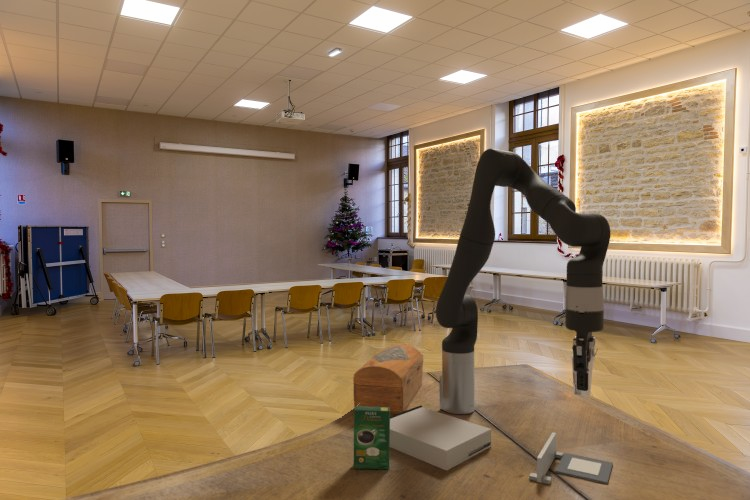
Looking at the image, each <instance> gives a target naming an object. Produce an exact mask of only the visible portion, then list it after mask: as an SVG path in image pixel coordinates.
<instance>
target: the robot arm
mask: <svg viewBox="0 0 750 500" xmlns="http://www.w3.org/2000/svg"><path fill="white" fill-rule="evenodd" d="M495 187H501V188H507V187H508V188H511V189H514V190H516V191H518V192H520V193H521V194H522V195H523V196H524V197H525V199H526V202H527V205H528V206H529V208H530V209H531V210H532V211H533V212H534V213H535V214H536V215H537V216H539V218H541V219H542V220H544V221H545V222H547V224H548V225H549V227H550V228H551V231H553V233H554V234H555V236H556V237H557V238H558V240H560V241H561V242H562V243H563V244H565V245H567V246H570V247H573V248H578V247H579V248H580V250H579V253H578V255H577V256H576V257H574V258H573V257H572V258H571V259H569V260H568V262H567V263H566V289H565V301H564V302H565V303H564V305H565V307H564V308H565V309H564V310H565V313H564V317H565V318H564V320H565V322H564V324H565V328H566V329H567V330H569V331H574V332H576V334H575V336H574V338H573V339H572V348H571V349H572V354H573V360H574V371H576V372H577V389H578V390H582V391H587V390H588V373H589V362H591V361H592V356H593V357H594V355H595V353H596V350H595V345H596V336H595V335H593V333H599V332H602V331H603V330H604V328H605V327H604V320H605V319H604V313H605V312H604V310H605V308H604V307H605V305H604V299H605V297H604V292H603V265H604V262H605V260H606V256H607V253H608V249H609V245H610V240H611V236H612V235H611V233H612V232H611V227H610V224H609V222H608V220H607V218H606V217H605V216H604V215H602V214H601V213H586V212H585V213H582V212H581V213H579V212H576V211H577V207H576V204H575V203H574V201H573V200H571V198H570V197H568V196H566V195H565V194H563V193H562V192H561V191H560V190H558V189H556V188H555V187H554V186H552V185H551V184H549V183H548V182H546V181H545V180H544V179H543V178H542V177H541V176H540V175H538V173H537V172H536V171H534V169H533V168H532V167H531V166H530V165H529V163H527V161H526V160H524V158H522V156H521V155H519V153H516V152H514V151H508V150H503V149H498V148H487V149H485V150H484V151H483V152H482V153H481V155H480V157H479V158H478V162H477V165H476V168H475V172H474V177H473V183H472V187H471V193H470V197H469V198H470V199H469V202H468V206H467V211H466V214H465V219H464V222H463V224H462V228H461V231H460V234H459V238H458V240H457V244H456V247H455V248H456V249H455V252H454V256H453V259H452V262H451V265H450V269H449V270H448V271H449V272H448V275H447V278H446V279H445V282H444V285H443V287H442V290H441V292H440V295H439V296H438V299H437V302H436V307H435V317H436V320H437V323H438V324H439V325H440V326H441V327H442V328H446V329H451V330H450V332H449V334H448V335H447V336H446V337H444V338H443V339H442V342H441V368H442V369H441V371H442V372H441V375H440V376H439V410H443V411H444V412H446V413H449V414H454V415H467V414H472V413H474V411H475V410H476V409H475V408H476V407H475V406H476V405H475V404H476V400H475V399H476V397H475V394H476V393H475V392H476V391H475V385H476V384H475V383H476V382H475V344H476V342H477V341H478V325H479V323H478V322H479V320H478V319H479V310H478V305H477V302H476V300H475V299H474V297H473V296H472V295H470V294H468V293H467V290H468V288H469V286H470V284H471V283H472V281H473V280H474V278H476V276H477V275H478V273H480V272H481V270H482V269H483V267H485V265H486V263H487V262H488V260H489V258H490V256H491V252H492V249H493V246H494V243H495V239H496V230H495V229H496V228H495V224H494V220H493V216H492V210H491V204H492V198H493V194H494V191H495ZM587 356H588V357H587ZM595 356H596V355H595ZM594 358H595V357H594ZM579 362H581V363H584V366H579ZM591 384H592V382H591Z"/></svg>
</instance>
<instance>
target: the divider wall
mask: <svg viewBox="0 0 750 500" xmlns="http://www.w3.org/2000/svg"><path fill="white" fill-rule="evenodd" d="M563 455H564V452H561V451H557V432H554V431H552V433H551V434H550V436H549V437H548V439H547V440H546V442H545V444H544V446H543V447H542V449H541V451H539V454H538V455H537V457H536V472H530V473H529V477H528V478H529V479H528V480H531V481H534V482H536V483H541V484H546V485H550V484H551V483H552V477H551V476H549V475H548V476H547V475H546V474H547V473H548V471H549V469H550V467H551V465H552V463H553V462H554V459H559V460H561V459H562V457H563Z"/></svg>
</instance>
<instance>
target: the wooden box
mask: <svg viewBox="0 0 750 500" xmlns="http://www.w3.org/2000/svg"><path fill="white" fill-rule="evenodd" d="M423 365H424V355H423V354H422V353H421V352H420V351H419V349H417V348H416V347H415V346H413V345H410V344H406V343H394V344H391V345H389V346H387V347H385V348H382V350H381V351H379V352H378V353H377V354H376V355H373V357H371V359H369V360H368V361H367V362H366V363H365V364H364V365H362V366H361V367H360V368H359V369H357V371H355V372H354V374H353V381H352V382H353V404H354V405H353V407H354V408H355V406H357V405H358V404H359V403H360V404H359V405H358V406H367V407H390V415H396V414H398V413H401V412H404V411H407V410H408V408H409V406H410V405H411V403H412V401H413V400H414V399H415V396H416V395H417V394H418V392H419V391H420V389H421V387H422V386H423V375H424V374H423V372H424V371H423Z"/></svg>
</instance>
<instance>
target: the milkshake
mask: <svg viewBox="0 0 750 500" xmlns="http://www.w3.org/2000/svg"><path fill="white" fill-rule="evenodd" d="M598 350H599V348H597V349H596V350H595V355H594V357H593V356H592V361H591V362H589V373H588V390H587V391H582V390H578V389H577V372H576V371H574V360H573V353H571V355H570V362H571V369H572V383H573V394H574V395H575V396H577V397H583V398H584V397H585V398H586V397H591V394H592V393H591V392H592V383H591V382H592V379H593V372H594V363H595V356H596V355H597V352H598ZM587 357H588V356H587ZM579 366H584V363H581V362H579Z"/></svg>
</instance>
